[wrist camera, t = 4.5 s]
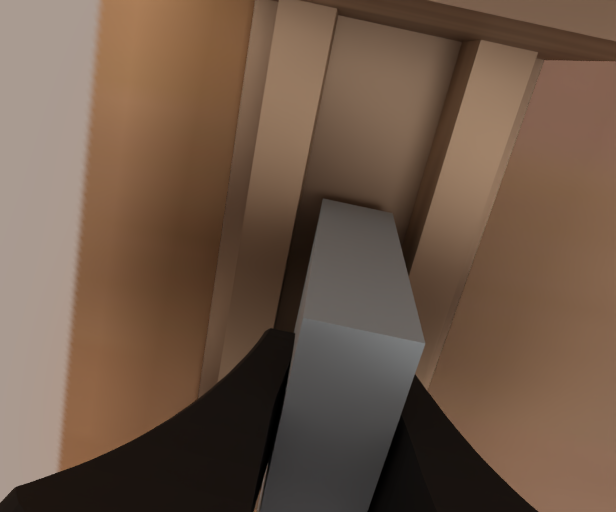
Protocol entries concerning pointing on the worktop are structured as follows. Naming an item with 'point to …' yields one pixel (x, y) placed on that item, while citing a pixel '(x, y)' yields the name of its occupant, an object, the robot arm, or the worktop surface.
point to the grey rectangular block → (344, 366)
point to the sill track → (379, 143)
